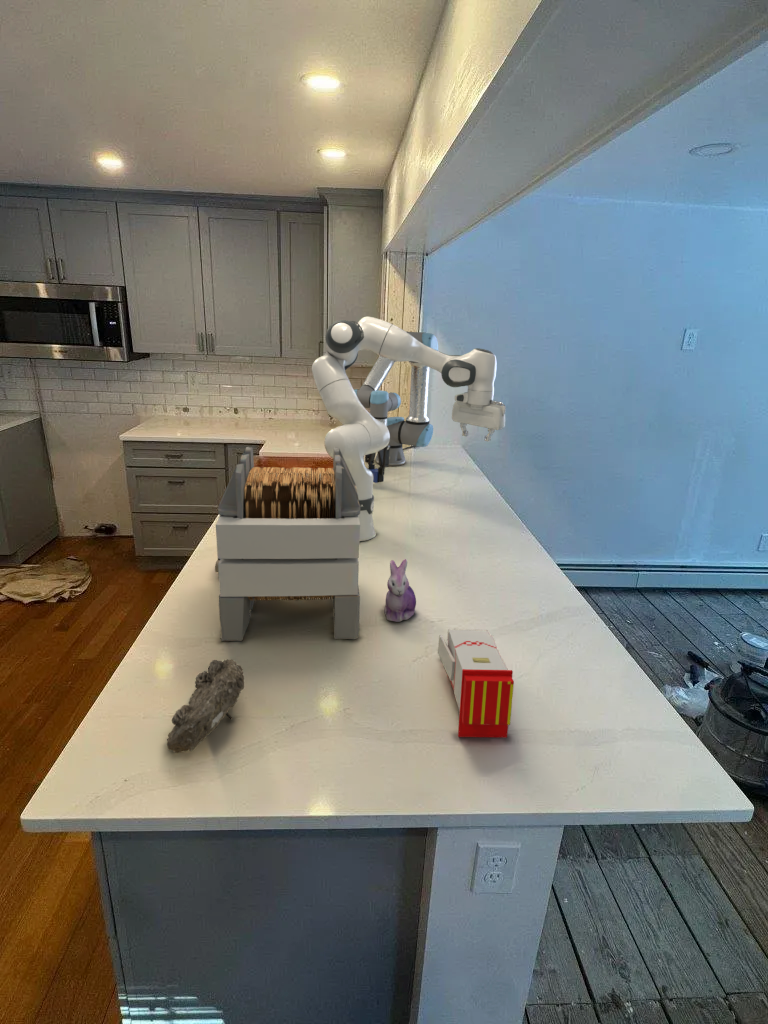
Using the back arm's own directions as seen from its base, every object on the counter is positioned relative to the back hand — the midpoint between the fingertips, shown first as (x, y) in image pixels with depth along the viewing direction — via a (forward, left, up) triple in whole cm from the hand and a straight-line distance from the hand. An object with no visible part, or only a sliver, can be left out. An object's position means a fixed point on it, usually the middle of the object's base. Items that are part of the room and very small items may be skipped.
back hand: (375, 480), depth 249 cm
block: (0, 0, 0) cm, 0 cm away
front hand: (+38, +42, +30) cm, 64 cm away
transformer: (+109, -1, -3) cm, 109 cm away
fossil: (+153, -2, -3) cm, 153 cm away
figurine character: (+93, -25, -3) cm, 96 cm away
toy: (+134, +46, -3) cm, 142 cm away
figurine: (+106, +27, -3) cm, 109 cm away
